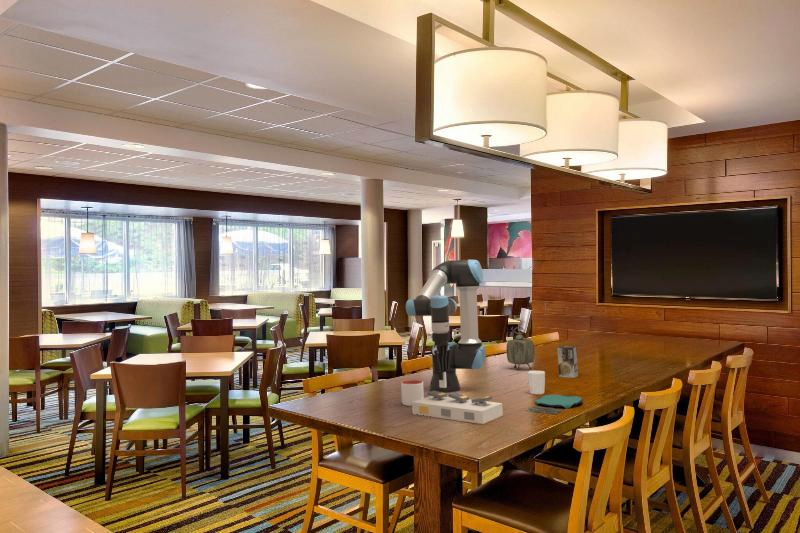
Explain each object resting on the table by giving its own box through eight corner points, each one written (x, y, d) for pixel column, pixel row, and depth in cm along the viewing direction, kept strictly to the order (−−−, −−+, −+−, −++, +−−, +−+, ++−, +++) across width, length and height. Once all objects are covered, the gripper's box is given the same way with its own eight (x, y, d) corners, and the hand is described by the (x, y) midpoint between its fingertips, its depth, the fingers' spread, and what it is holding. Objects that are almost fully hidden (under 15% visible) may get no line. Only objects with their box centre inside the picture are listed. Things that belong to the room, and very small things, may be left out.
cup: (408, 407, 268) (407, 385, 268) (398, 403, 277) (397, 381, 277) (428, 404, 273) (427, 382, 273) (417, 401, 282) (416, 379, 282)
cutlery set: (589, 401, 268) (589, 396, 268) (561, 417, 244) (560, 411, 244) (547, 397, 280) (547, 392, 280) (516, 412, 257) (516, 406, 257)
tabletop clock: (535, 369, 355) (533, 326, 355) (527, 372, 348) (525, 328, 348) (514, 367, 365) (512, 325, 365) (505, 369, 358) (504, 327, 358)
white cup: (546, 394, 285) (545, 373, 285) (528, 394, 286) (528, 373, 286) (545, 391, 293) (544, 370, 293) (528, 391, 294) (527, 370, 294)
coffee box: (578, 376, 329) (577, 346, 329) (575, 378, 324) (573, 347, 324) (561, 375, 334) (560, 345, 334) (558, 377, 329) (557, 347, 329)
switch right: (471, 403, 247) (471, 399, 247) (477, 400, 251) (477, 397, 251) (486, 401, 243) (485, 397, 243) (492, 399, 247) (491, 395, 247)
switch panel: (412, 414, 256) (411, 400, 256) (434, 406, 269) (433, 393, 269) (482, 424, 235) (481, 409, 235) (502, 415, 248) (502, 401, 248)
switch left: (427, 395, 261) (427, 392, 261) (433, 393, 265) (433, 390, 265) (440, 398, 257) (440, 395, 257) (447, 396, 260) (447, 393, 260)
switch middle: (448, 396, 254) (449, 393, 254) (454, 394, 258) (455, 391, 258) (462, 402, 250) (463, 398, 250) (468, 399, 254) (469, 396, 254)
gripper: (439, 334, 252) (441, 391, 252) (456, 330, 262) (458, 385, 262) (424, 333, 256) (427, 389, 256) (441, 329, 266) (444, 383, 267)
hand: (443, 387), depth 259 cm, fingers closed
